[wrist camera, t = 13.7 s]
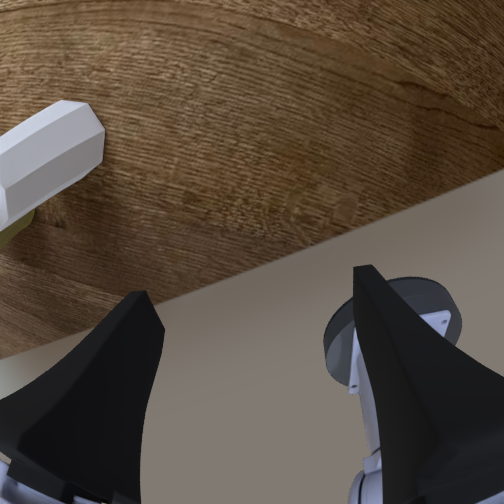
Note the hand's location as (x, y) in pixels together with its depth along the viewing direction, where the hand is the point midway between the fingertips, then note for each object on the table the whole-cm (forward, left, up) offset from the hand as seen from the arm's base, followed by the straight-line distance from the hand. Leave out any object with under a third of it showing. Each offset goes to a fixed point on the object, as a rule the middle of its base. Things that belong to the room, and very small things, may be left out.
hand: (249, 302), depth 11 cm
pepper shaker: (+6, +11, -10) cm, 16 cm away
